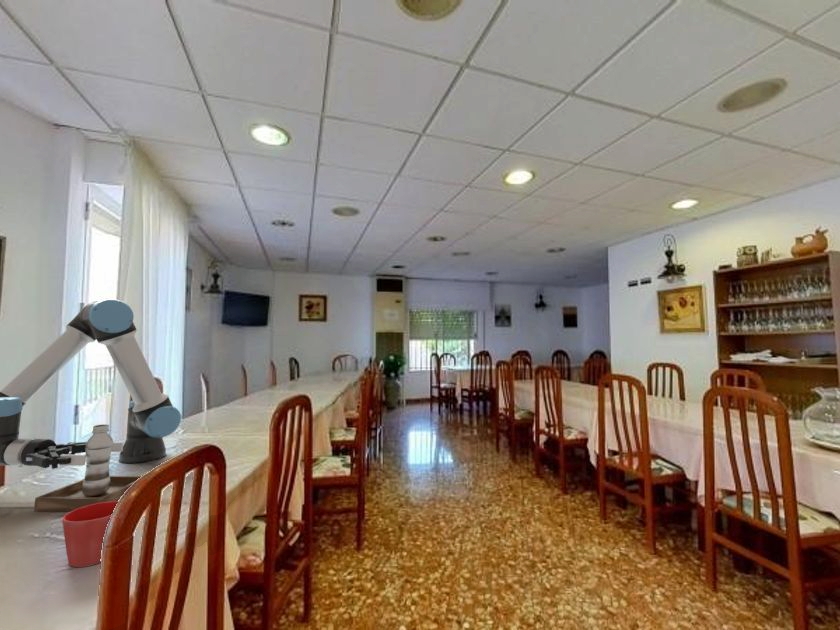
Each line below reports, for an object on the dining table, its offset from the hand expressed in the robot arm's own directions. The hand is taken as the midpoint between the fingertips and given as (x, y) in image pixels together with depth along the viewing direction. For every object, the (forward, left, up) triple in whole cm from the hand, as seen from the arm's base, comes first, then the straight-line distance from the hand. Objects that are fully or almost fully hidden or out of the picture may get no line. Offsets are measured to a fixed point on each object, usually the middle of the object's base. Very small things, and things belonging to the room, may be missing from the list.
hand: (104, 453), depth 112 cm
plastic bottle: (0, -2, -12) cm, 12 cm away
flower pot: (+30, +23, -13) cm, 40 cm away
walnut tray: (0, -2, -13) cm, 13 cm away
